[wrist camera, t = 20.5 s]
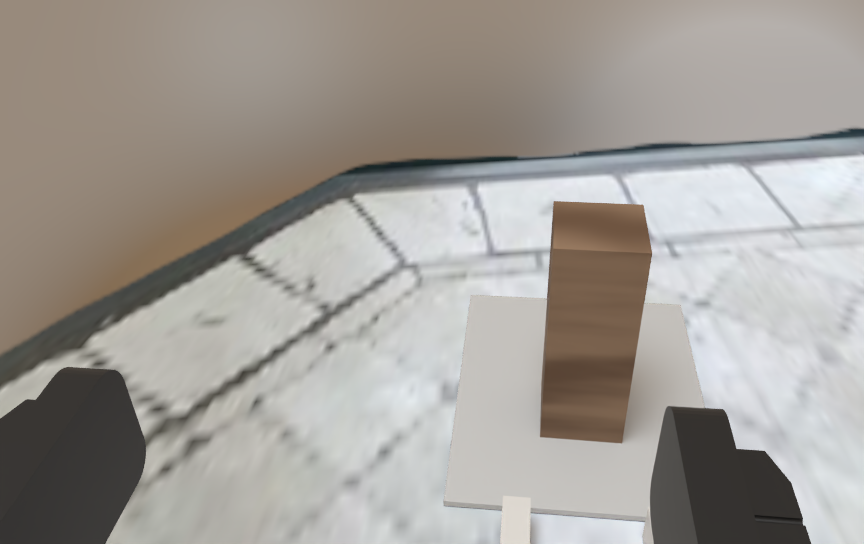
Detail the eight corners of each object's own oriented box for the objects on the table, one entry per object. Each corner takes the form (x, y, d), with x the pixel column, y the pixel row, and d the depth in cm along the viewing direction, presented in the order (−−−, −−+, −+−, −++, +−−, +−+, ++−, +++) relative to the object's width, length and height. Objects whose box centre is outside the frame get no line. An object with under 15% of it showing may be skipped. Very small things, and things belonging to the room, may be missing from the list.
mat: (731, 528, 43) (732, 523, 42) (443, 505, 44) (443, 501, 44) (679, 309, 59) (680, 304, 59) (470, 299, 61) (470, 295, 61)
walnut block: (621, 443, 47) (652, 253, 39) (540, 437, 48) (553, 248, 40) (616, 387, 51) (643, 204, 44) (541, 382, 52) (553, 201, 44)
